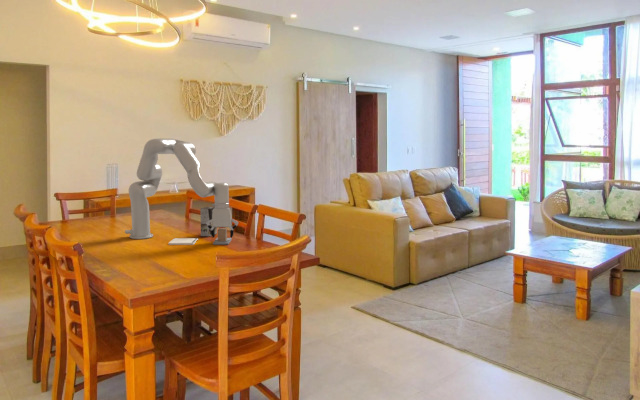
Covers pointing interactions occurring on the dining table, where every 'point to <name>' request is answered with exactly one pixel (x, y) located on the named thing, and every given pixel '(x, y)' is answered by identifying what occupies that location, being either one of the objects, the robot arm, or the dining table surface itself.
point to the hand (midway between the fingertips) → (222, 237)
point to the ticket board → (183, 241)
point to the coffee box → (206, 216)
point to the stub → (222, 237)
